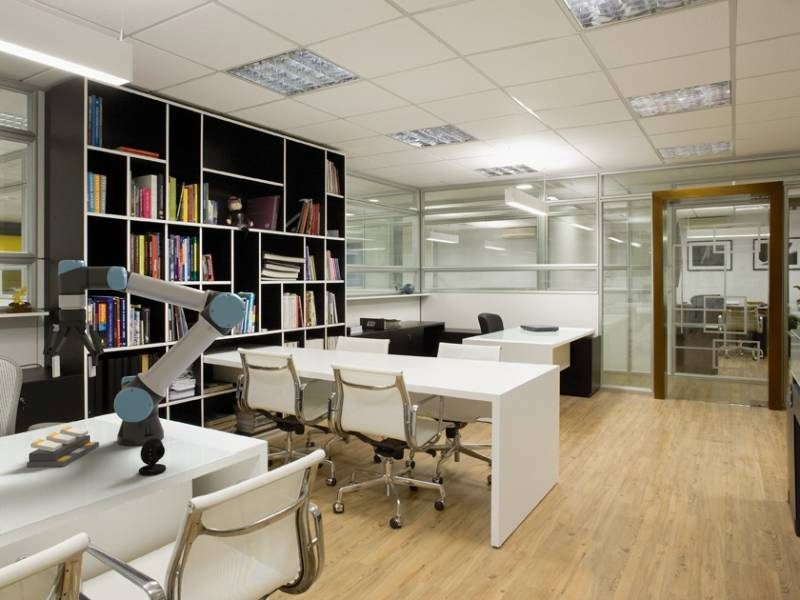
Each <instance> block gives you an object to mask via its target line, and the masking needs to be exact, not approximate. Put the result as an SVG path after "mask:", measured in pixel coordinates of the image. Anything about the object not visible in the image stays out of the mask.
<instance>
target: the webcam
mask: <svg viewBox="0 0 800 600" xmlns="http://www.w3.org/2000/svg"><path fill="white" fill-rule="evenodd" d="M165 452H166V449H165V446H164V444H163V441H162V439H161V440H160V439H157V438H151V439H149V440H147V441H146V442H145V443H144V444H143V445H141V449H140V454H139V455H140V459H141V461H142V463H143V464H145V465H143V466H141V467H140V468H139V469H138V474H139V475H141V476H144V477H145V476H146V477H147V476H156V475H161V474H163V473H164V472H165V471H166V469H167V466H166V465H165V464H162V463H158V462H159V461H160V460H161V459H163V457H164V456H165Z"/></svg>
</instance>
